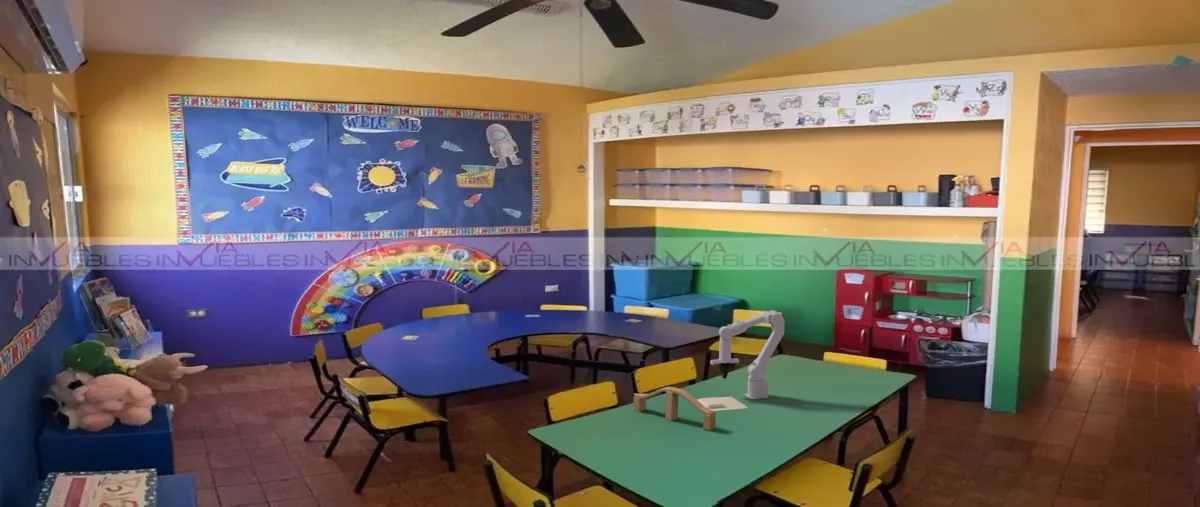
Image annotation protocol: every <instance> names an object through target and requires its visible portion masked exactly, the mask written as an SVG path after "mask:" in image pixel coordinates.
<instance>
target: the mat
mask: <svg viewBox="0 0 1200 507" xmlns="http://www.w3.org/2000/svg"><path fill="white" fill-rule="evenodd" d="M715 398H716V399H718V400H719V401H721V402H722V403H724V407H714V408H708V409H710V410H713V411H715V412H717V411H730V410H739V409H740V410H743V409H749V407H748V406H747V405H745V404H743V403H741V402H740V401H738V400H737V399H736V398H734V397H732V396H723V397H722V396H721V397H715ZM695 399H696V400H697V401H698V402H699V399H700V398H698V399H697V398H695ZM700 403H701V402H700ZM701 404H702V403H701ZM702 405H703V404H702ZM703 406H704V407H706V406H705V405H703ZM706 408H707V407H706Z"/></svg>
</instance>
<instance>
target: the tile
mask: <svg viewBox="0 0 1200 507" xmlns="http://www.w3.org/2000/svg"><path fill="white" fill-rule="evenodd" d="M716 398H717V397H714V396H712V397H703V398H700V397H699V398H698V399H699V402H701V403H702V404H703V405H705V406H706V407H707V408H714V407H724V403H722V402H721V401H719V400H718V399H716Z"/></svg>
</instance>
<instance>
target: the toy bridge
mask: <svg viewBox="0 0 1200 507" xmlns="http://www.w3.org/2000/svg"><path fill="white" fill-rule="evenodd" d="M662 392H665V414H664V415H665V420H667V421H670V422H671V421H672V422H673V421H675V420H677V419H678V418H679V396H680V397H682V398H683V399H684V400H685V401H686V402H688V403H689V404H690V405H691V406H692V407H694V408H695V409H696V410H697V411H698V412H700V413H702V414H703V417H702V418H703V422H702V424H703V425H702V428H703V430H707V431H712V430H714V429H716V427H717V426H716V425H717V424H716V423H717V422H716V419H717V418H716V416H717V413H716V411H713V410H710V409H708V408H706V407H704V406H703V405H702V404H701V403H700V402H698V401H697V400H696V399H697V398H695V397H694V396H692V394H690V393H689V392H687V391H686V390H684V389H682V388H679V387H675V386H674V387H673V386H666V387H663V388H660V389H657V390H655V391H652V392H650V393H642V392H639V393H633V396H634V397H633V412H634V411H635V412H637V413H641V412H643V411H646V409H647V398H650V397H653V396H654V395H655V396H656V395H657V394H659V393H662Z"/></svg>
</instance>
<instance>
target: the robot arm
mask: <svg viewBox="0 0 1200 507" xmlns="http://www.w3.org/2000/svg"><path fill="white" fill-rule="evenodd" d="M762 323H764V324H768V325H770V326H771V330H772V332H771V333H770V336H769V337H768V339H767V340H766V342H765V344H764V346H763V347H762V349H761V351H760V353H759V354H758V356H757V358H755V359H754V360H753V362H752V363H750V364H749V365H748V367H747V373H748V377H747V392H746V393H743V395H744V396H746V397H748V398H749V399H751V400H756V399H769V382H768V380H767V379H766V378H764V377H765V372H766V370H767V364H768V362H769V360H770V358H771V357H772V355H773V353H774V352H775V350H776V349H777V347H778V345H779V343H780V342H781V340H782V338H783V337H784V335H785V323H786V321H785V318H784V316H783V315H782V314H781V313H779V312H778V311H777V310H775V309H770V310H769V311H764V312H763V313H761V314H759V315H756V316H754V317H751V318H749V319H747V320H745V321H743V320H736V321H735V322H733V323H731V324H726V326H725V325H724V326H721V327H720V328H719V329H718V335H719V344H718V345H719V348H718V349H719V351H718V355H719V356H718V358H716V359H710V365H712V366H714V365H718V367H719V370H720V373H721V378H722V379H727V377H728V374H729V372H730V371H731V370H730V369H731V368H732V364H739V363H740V359H739V358H735V357H734V358H732V338H733V337H734V336H737V335H740V334H742V333H745V332H746V331H747V329H748V328H751V327H754V326H757V325H760V324H762Z"/></svg>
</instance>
